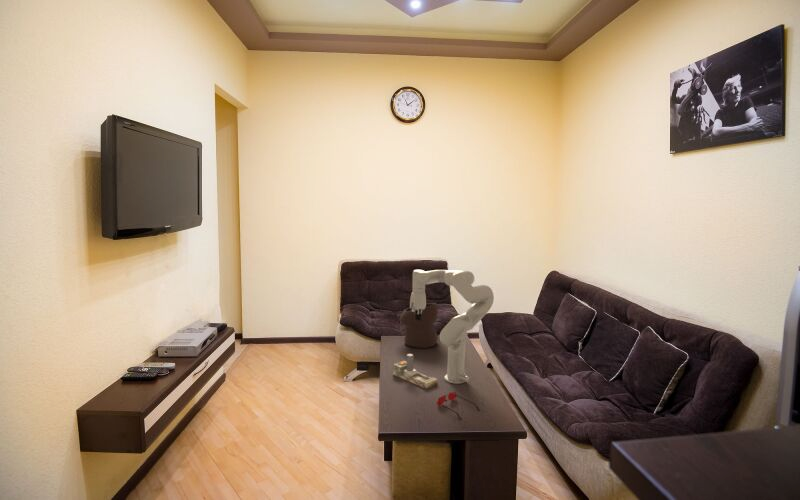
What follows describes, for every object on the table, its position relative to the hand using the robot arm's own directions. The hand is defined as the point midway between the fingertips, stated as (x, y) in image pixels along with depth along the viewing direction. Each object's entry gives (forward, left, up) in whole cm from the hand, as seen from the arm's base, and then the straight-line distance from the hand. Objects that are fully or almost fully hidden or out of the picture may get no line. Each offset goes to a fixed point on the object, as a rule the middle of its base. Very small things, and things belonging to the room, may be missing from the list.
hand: (418, 319), depth 246 cm
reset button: (-2, +15, -26) cm, 30 cm away
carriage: (-8, +15, -27) cm, 32 cm away
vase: (+30, -32, -29) cm, 53 cm away
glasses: (-50, +24, -30) cm, 63 cm away
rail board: (-12, +15, -29) cm, 35 cm away
